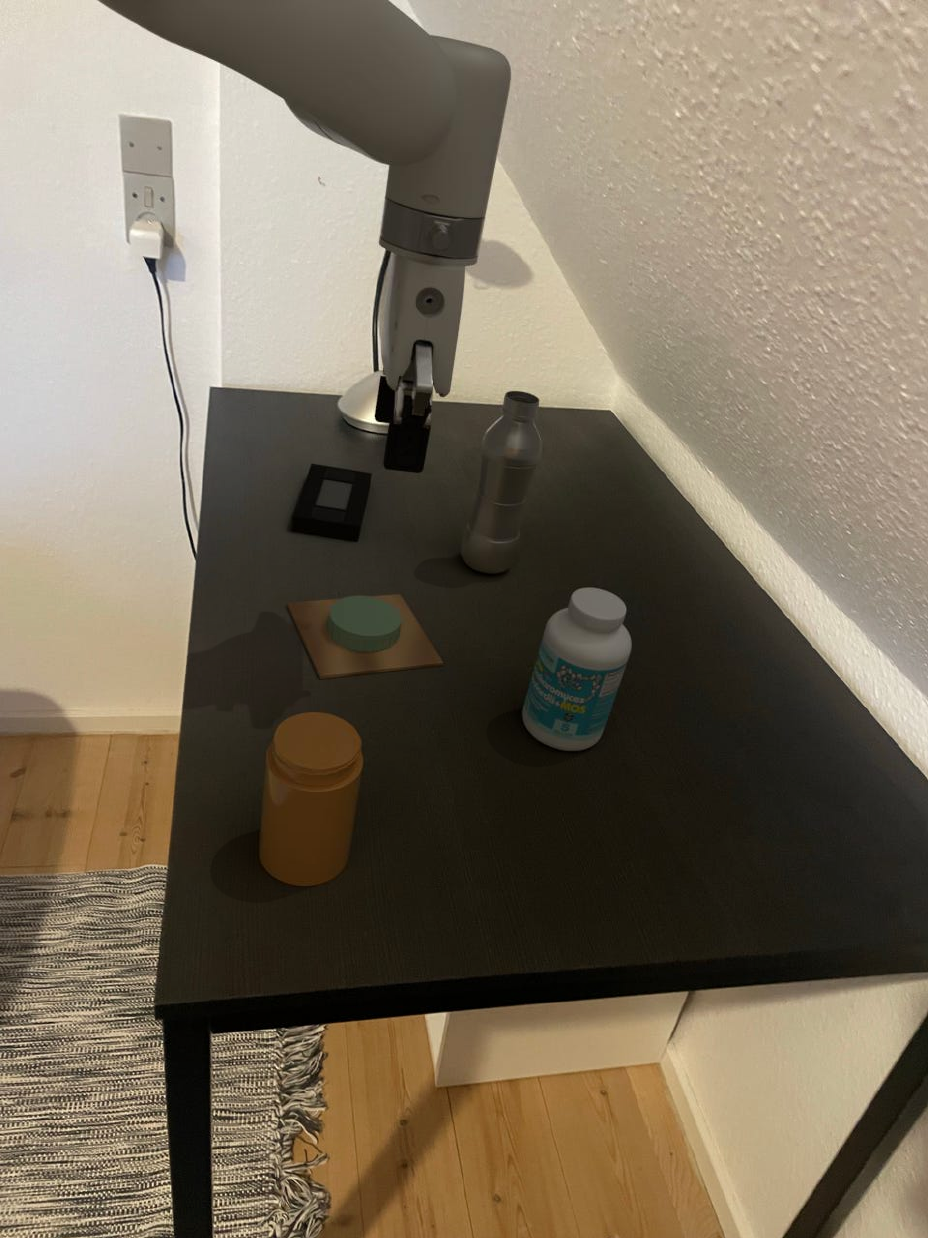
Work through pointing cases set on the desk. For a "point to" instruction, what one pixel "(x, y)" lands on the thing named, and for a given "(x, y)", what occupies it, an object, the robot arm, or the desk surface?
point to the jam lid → (364, 623)
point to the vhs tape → (332, 502)
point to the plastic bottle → (503, 485)
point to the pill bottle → (578, 671)
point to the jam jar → (310, 798)
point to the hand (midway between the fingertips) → (397, 444)
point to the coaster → (347, 662)
